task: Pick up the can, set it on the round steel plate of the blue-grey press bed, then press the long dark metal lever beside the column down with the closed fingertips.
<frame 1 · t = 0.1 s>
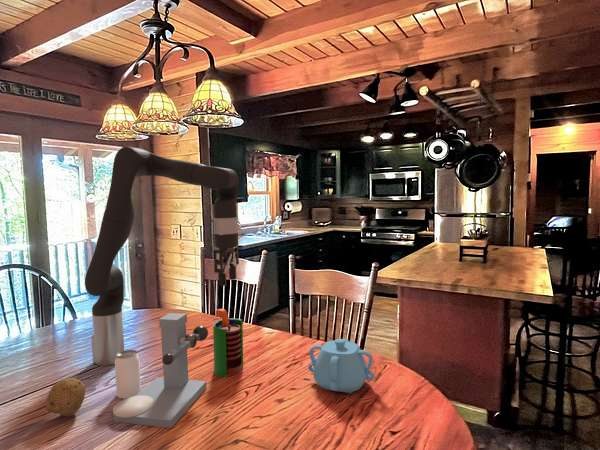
hand: (227, 282, 124), 29 cm above the table, tool pointing down, fingers open, 8 cm apart
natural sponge: (67, 416, 102), on the table
press: (163, 403, 107), on the table
can: (129, 394, 113), on the table
lever: (186, 344, 107), point 16 cm above the table, hinge at 0.0°
decorative pot: (340, 384, 116), on the table
motor: (228, 370, 127), on the table
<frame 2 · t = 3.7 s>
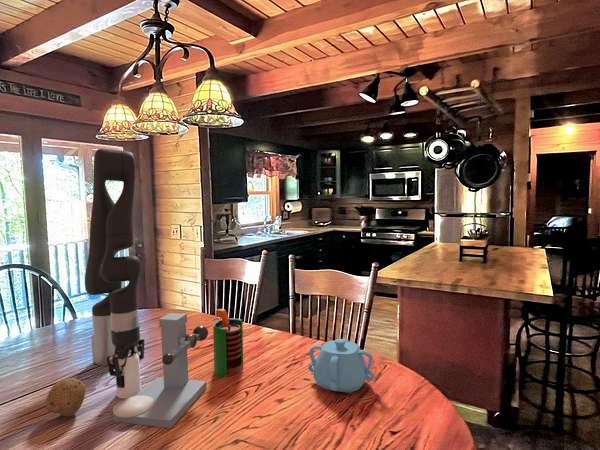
hand: (128, 381, 113), 4 cm above the table, tool pointing down, fingers closed on can, 5 cm apart
can: (129, 394, 113), on the table, touching gripper
everything else where it was.
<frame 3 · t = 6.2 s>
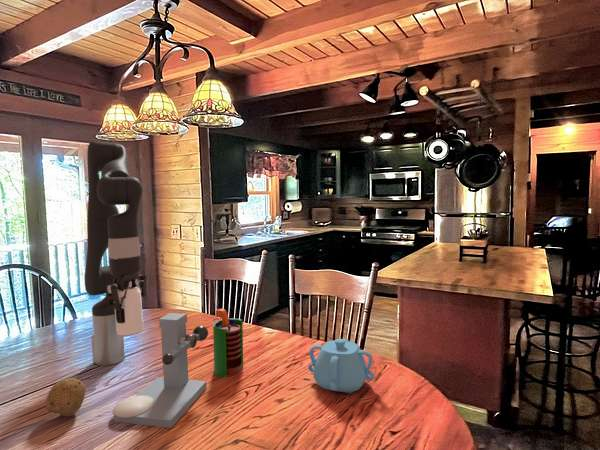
hand: (129, 318, 101), 26 cm above the table, tool pointing down, fingers closed on can, 5 cm apart
can: (130, 333, 101), point 22 cm above the table, touching gripper
everything else where it was.
when the fingers open (7 cm above the table, at t = 8.8 s): can stays where it is, resting on press.
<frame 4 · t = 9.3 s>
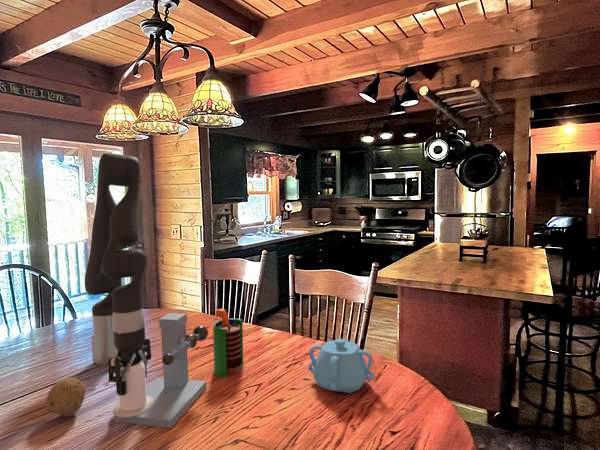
hand: (132, 386, 102), 8 cm above the table, tool pointing down, fingers open, 8 cm apart
can: (133, 405, 102), point 2 cm above the table, touching press
everything else where it was.
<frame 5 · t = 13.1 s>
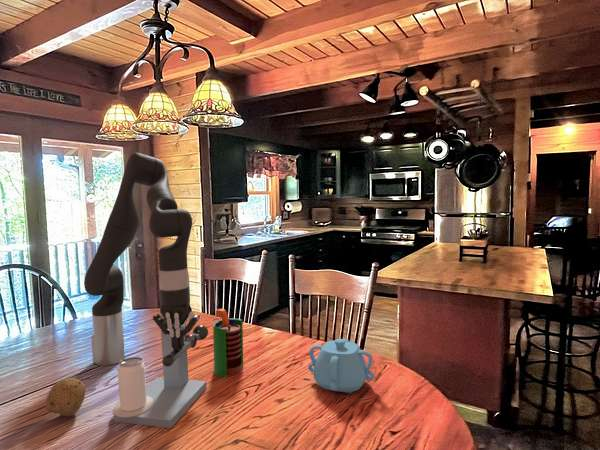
hand: (178, 349, 103), 16 cm above the table, tool pointing down, fingers closed
lever: (186, 344, 107), point 16 cm above the table, hinge at 2.2°, touching gripper
everything else where it was.
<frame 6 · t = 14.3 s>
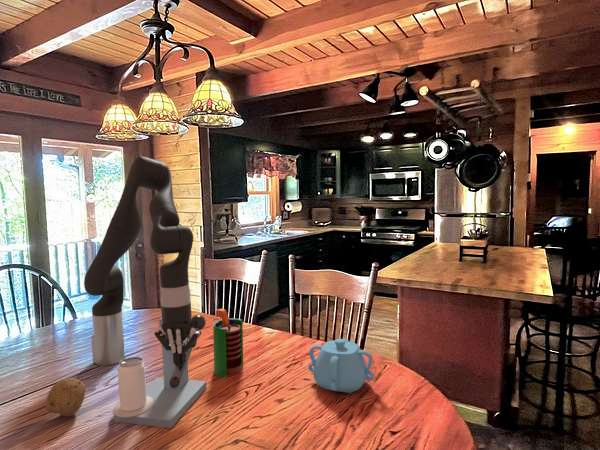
hand: (179, 365, 103), 12 cm above the table, tool pointing down, fingers closed
lever: (187, 349, 108), point 14 cm above the table, hinge at 38.2°, touching gripper
everything else where it was.
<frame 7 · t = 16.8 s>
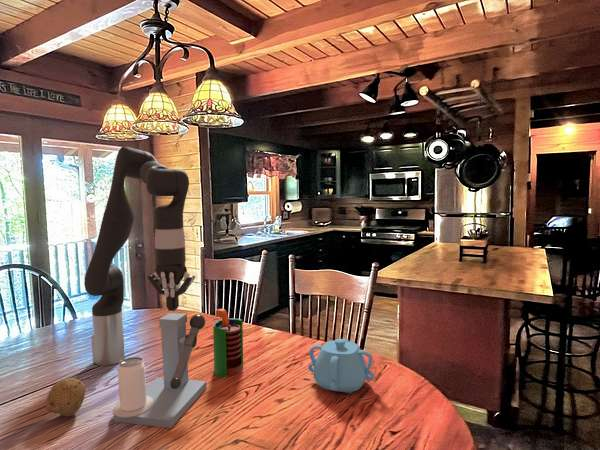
hand: (172, 309, 103), 27 cm above the table, tool pointing down, fingers closed
lever: (187, 349, 108), point 14 cm above the table, hinge at 41.2°
everything else where it was.
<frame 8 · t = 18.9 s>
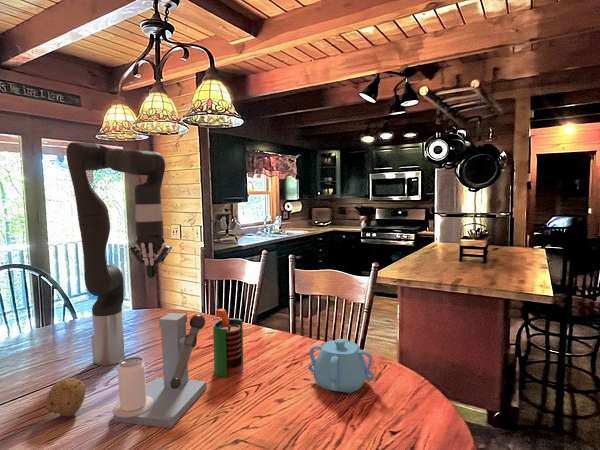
hand: (152, 277, 116), 33 cm above the table, tool pointing down, fingers closed
nothing on the table moved.
at the end: can inside the target area (0.1 cm from its centre), point 2.1 cm above the table; can tilted 0°; lever at +41° (first picture: +0°) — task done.
